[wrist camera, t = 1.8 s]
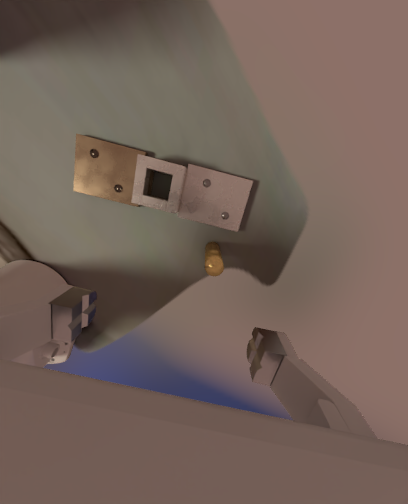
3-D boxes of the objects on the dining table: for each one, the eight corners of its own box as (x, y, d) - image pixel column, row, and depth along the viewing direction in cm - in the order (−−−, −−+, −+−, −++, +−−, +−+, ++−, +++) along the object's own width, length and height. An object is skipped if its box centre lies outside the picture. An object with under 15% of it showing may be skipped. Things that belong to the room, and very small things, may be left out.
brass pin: (217, 256, 33) (221, 278, 25) (203, 253, 33) (203, 273, 24) (220, 243, 33) (226, 261, 24) (207, 240, 32) (207, 256, 24)
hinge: (251, 181, 30) (258, 179, 26) (236, 230, 32) (241, 235, 28) (80, 135, 28) (60, 126, 24) (77, 190, 30) (59, 190, 26)
